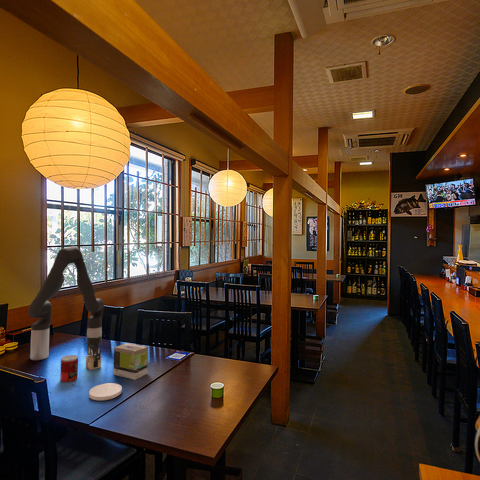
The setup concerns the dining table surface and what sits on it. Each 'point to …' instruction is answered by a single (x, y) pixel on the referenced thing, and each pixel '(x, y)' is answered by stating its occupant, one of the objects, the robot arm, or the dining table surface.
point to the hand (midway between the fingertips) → (93, 365)
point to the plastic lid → (105, 391)
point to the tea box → (130, 360)
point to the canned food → (69, 368)
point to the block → (92, 362)
